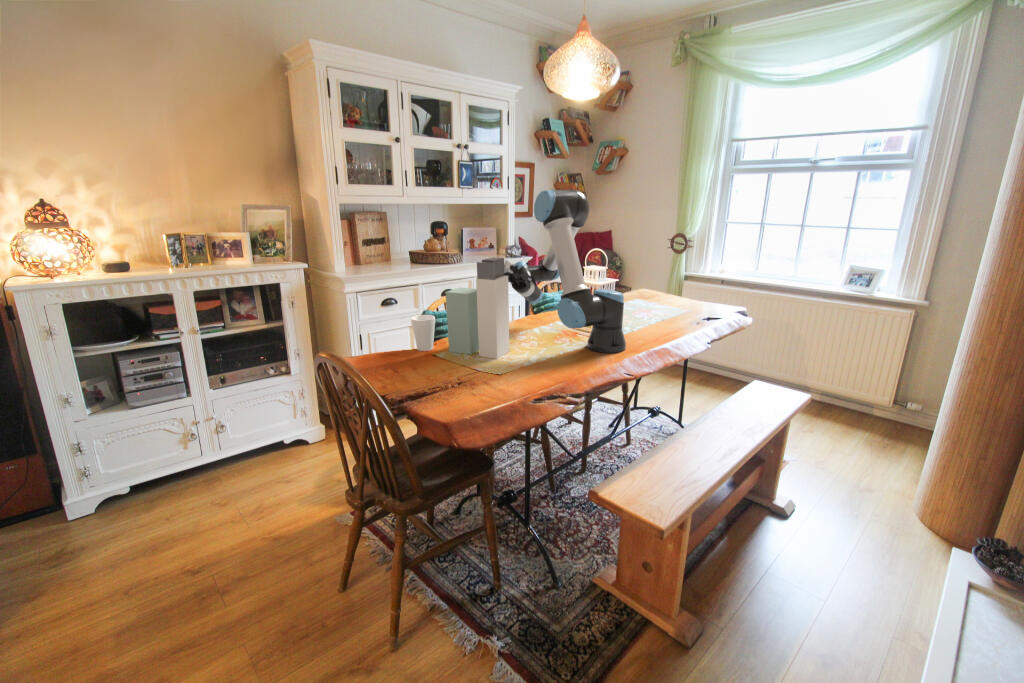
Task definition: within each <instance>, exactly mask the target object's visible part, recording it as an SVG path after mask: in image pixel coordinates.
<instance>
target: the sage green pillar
mask: <svg viewBox="0 0 1024 683" xmlns="http://www.w3.org/2000/svg"><path fill="white" fill-rule="evenodd" d="M445 303H446V304H445V306H446V321H447V322H446V324H447V337H448V352H451V353H457V354H462V353H464V354H463V355H468V354H471V355H473V354H475V353H476V352H479V340H478V314H477V288H469V287H458V288H455V289H451V290H448V291H445ZM474 352H475V353H474ZM472 353H473V354H472Z"/></svg>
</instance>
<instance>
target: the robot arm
mask: <svg viewBox="0 0 1024 683" xmlns="http://www.w3.org/2000/svg"><path fill="white" fill-rule="evenodd" d="M533 215H534V218H535V219H536V220H537V222H539V223H542V224H543V229H544V230H545V231H547V232H549V237H550V241H551V243H550V244H551V245H550V246H549V248H548V250H547V252H546V255H545V256H544V258H543V260H542V262H541V264H537V265H528V263H527V262H525V261H523V260H522V261H521V260H520V261H517V262H516V263H511V262H510V261H509V260H507V259H504V267H505V268H506V269H507V270H508V271H509V272H506V273H505V274H503V275H501V276H508V283H510V285H511V287H512V288H513V290H515V291H516V292H517V293H518V294H519V295H520V296H522V297H523V298H524V299H525V300H526V302H528V303H530V304H534V305H535V304H536V305H537V304H538V303H540V302H541V301H542V299H543V296H544V293H543V291H542V289H541V288H540V287H539V286H538V284H537V283H540V282H550V281H554V280H558V278H559V277H560V278H559V279H560V281H561V287H562V291H563V292H562V293H561V294H560V300H559V301H558V303H557V315H558V318H559V320H560V321H561V323H562V325H564V326H565V327H567V328H568V329H571V330H573V329H582V328H585V327H587V328H588V327H590V326H591V327H592V328H591V331H590V333H589V336H588V339H587V345H586V346H587V348H588V349H589V350H591V351H593V352H595V353H606V354H612V353H614V354H615V353H620V352H623V351H624V350H626V348H627V347H626V346H627V341H626V338H625V335H624V331H623V321H624V320H623V319H624V307H625V306H624V305H625V302H624V300H625V299H624V298H625V297H624V294H623V293H622V292H621V291H620V292H619V291H616V290H611V289H603V288H601V289H597V288H596V289H594V290H593V292H592V290H591V288H590V287H589V286H587V285H586V281H585V279H584V275H583V271H582V266H581V265H582V264H581V262H580V258H579V254H578V249H577V246H576V241H575V237H576V236H577V233H578V231H579V230H580V229H581V228H583V227H584V226H585V224H586V222H587V220H588V218H589V215H590V203H589V200H588V198H587V196H586V195H585V194H584V193H583V192H582V191H580V190H577V189H573V188H572V189H544V190H541V191H540V192H539V193H538V194H537V196H536V198H535V201H534V204H533ZM512 264H514V266H513V265H512Z"/></svg>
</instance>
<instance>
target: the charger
mask: <svg viewBox="0 0 1024 683" xmlns="http://www.w3.org/2000/svg"><path fill="white" fill-rule="evenodd" d="M481 262H487V263H495V277H496V276H499V275H503V274H505V273H506V272H509V271H508V270H507V269H506V268H505V267H504V265H505V257H494V256H493V257H489V258H484V259H481ZM511 264H512V265H513V266H514V264H515V263H511Z"/></svg>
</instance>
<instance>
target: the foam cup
mask: <svg viewBox="0 0 1024 683" xmlns="http://www.w3.org/2000/svg"><path fill="white" fill-rule="evenodd" d="M410 324H411V326H412V329H413V335H414V340H415V344H416V349H417V351H419V352H427V351H432V350H433V349H434V344H435V342H434V341H435V340H434V338H435V326H436V317H435V316H434V315H432V314H418V315H414V316H411V317H410Z"/></svg>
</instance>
